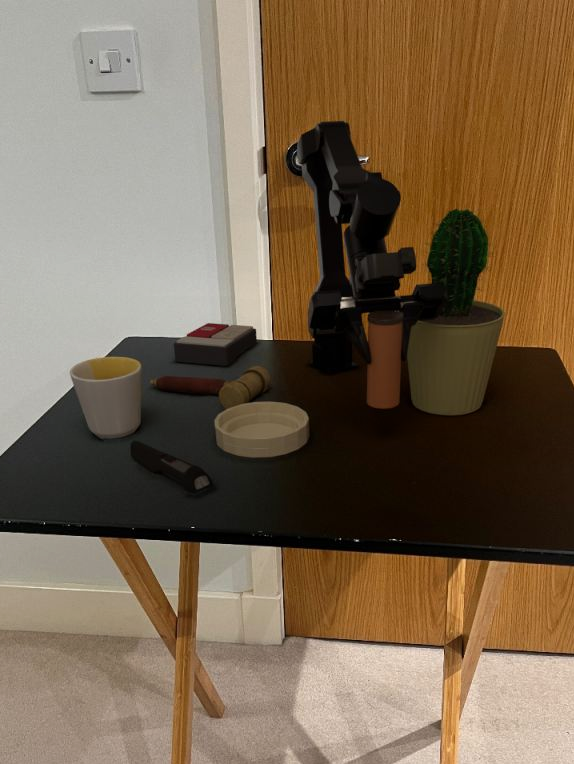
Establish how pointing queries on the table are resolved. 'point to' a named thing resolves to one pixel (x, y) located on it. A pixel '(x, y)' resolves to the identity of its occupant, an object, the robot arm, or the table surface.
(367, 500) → the table surface
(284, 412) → the bowl
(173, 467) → the electric trimmer
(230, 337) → the gray and red box
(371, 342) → the copper tin
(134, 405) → the mug
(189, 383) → the gavel
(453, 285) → the potted cactus
